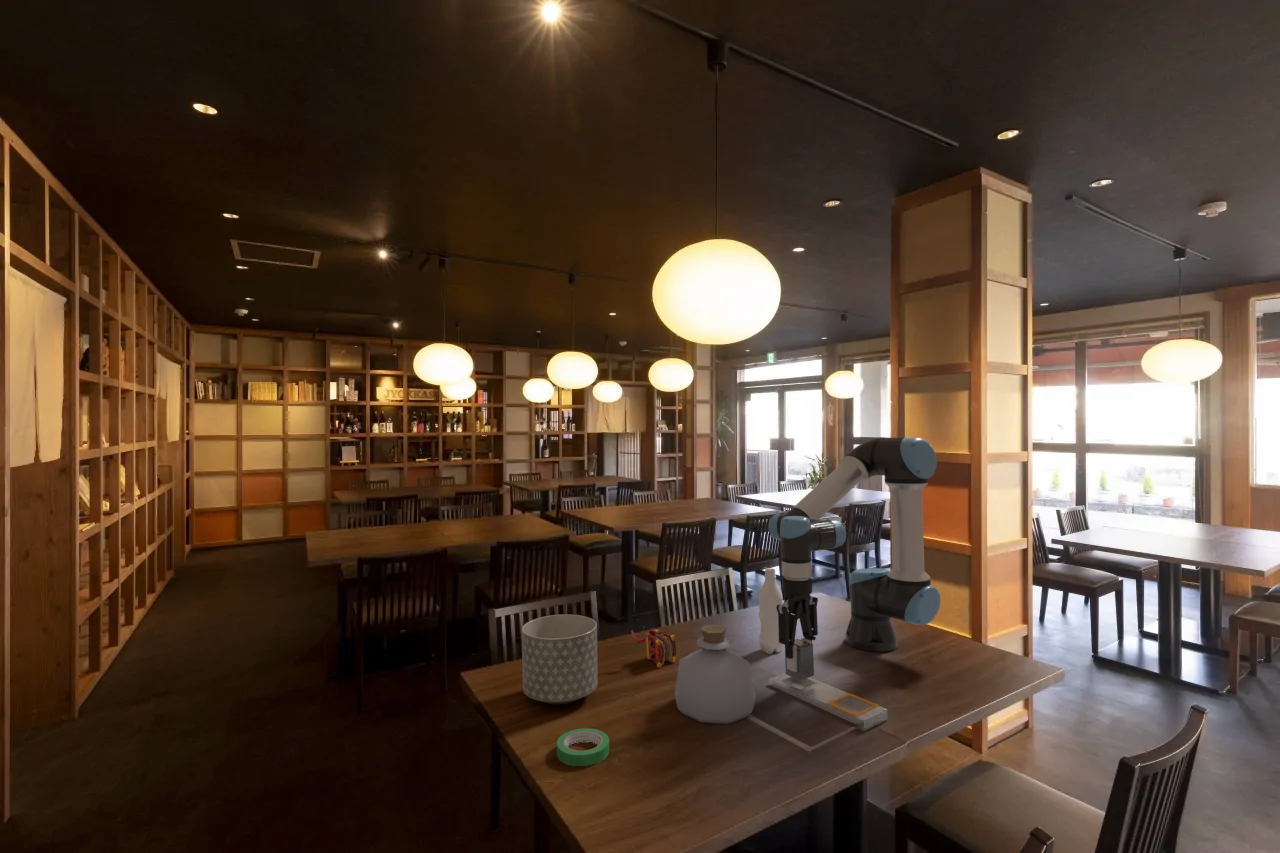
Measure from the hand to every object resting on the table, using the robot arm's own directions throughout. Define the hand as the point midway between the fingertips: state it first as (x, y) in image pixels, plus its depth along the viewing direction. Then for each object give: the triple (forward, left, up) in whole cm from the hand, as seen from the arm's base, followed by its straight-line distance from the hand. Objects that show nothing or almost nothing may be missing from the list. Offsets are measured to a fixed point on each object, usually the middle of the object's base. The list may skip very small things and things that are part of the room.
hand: (799, 667), depth 150 cm
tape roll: (+59, -8, -7) cm, 60 cm away
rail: (0, +8, -6) cm, 10 cm away
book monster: (+19, -38, -6) cm, 43 cm away
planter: (+51, -34, -6) cm, 62 cm away
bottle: (+23, -7, -6) cm, 25 cm away
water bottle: (-15, -23, -6) cm, 28 cm away
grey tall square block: (0, 0, -2) cm, 2 cm away
